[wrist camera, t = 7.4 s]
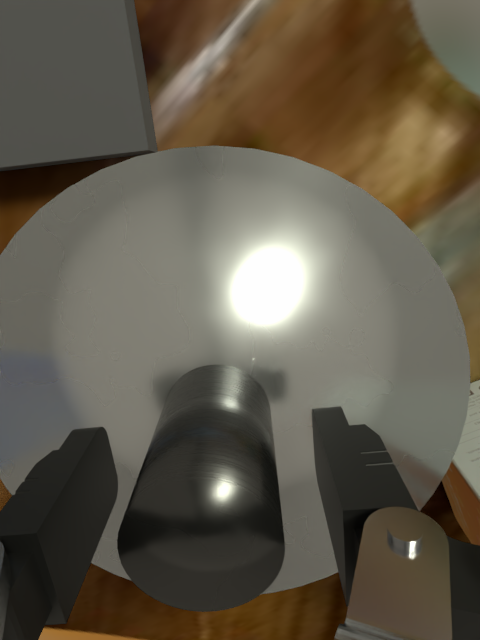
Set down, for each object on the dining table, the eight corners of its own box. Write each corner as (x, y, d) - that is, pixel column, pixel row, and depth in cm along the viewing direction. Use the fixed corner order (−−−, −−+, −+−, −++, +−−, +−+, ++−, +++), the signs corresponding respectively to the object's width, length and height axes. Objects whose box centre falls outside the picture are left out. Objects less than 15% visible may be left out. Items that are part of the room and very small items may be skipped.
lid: (-79, 186, 12) (-389, 194, 6) (460, 113, 11) (696, 40, 5) (58, 582, 17) (-45, 802, 11) (445, 549, 16) (562, 767, 10)
